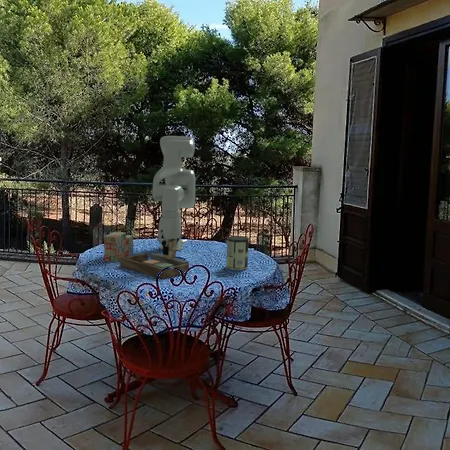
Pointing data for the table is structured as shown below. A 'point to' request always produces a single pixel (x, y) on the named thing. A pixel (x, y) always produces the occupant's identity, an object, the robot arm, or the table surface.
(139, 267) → the box
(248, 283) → the table surface
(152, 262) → the tile terracotta
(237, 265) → the coffee can
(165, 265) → the tile sage
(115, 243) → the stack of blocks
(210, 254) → the table surface
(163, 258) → the scraper
